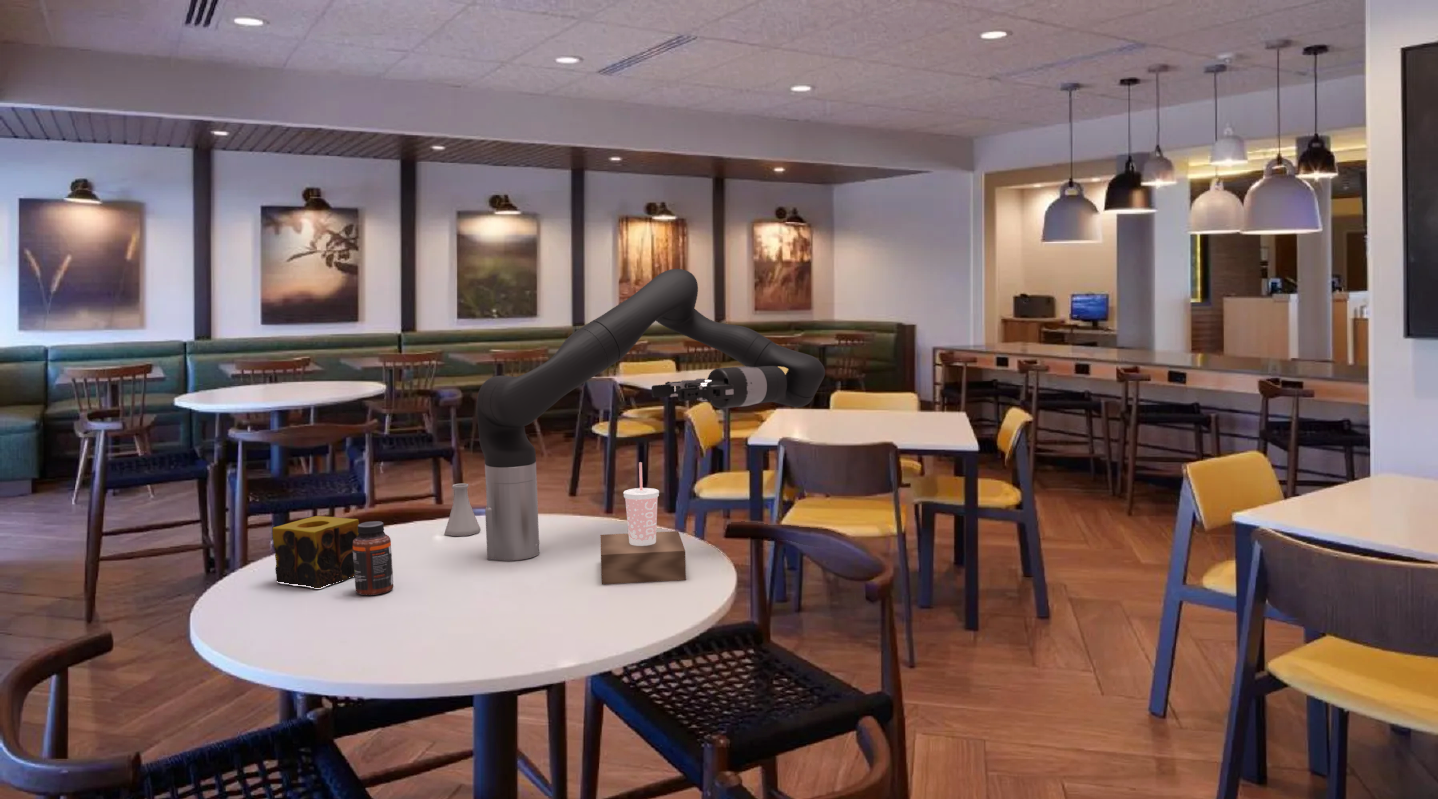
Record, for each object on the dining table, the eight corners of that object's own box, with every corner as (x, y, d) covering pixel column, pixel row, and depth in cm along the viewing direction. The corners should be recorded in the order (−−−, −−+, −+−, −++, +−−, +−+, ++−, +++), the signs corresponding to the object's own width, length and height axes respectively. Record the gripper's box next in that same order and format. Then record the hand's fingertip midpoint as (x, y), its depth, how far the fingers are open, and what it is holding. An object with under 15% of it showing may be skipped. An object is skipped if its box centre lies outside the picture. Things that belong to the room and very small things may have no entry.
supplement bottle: (401, 587, 164) (397, 520, 163) (378, 598, 159) (374, 528, 158) (371, 584, 166) (367, 518, 165) (347, 595, 161) (343, 526, 159)
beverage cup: (631, 548, 167) (629, 466, 166) (620, 540, 173) (617, 461, 171) (665, 544, 170) (663, 463, 168) (653, 536, 175) (651, 458, 174)
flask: (471, 537, 198) (469, 488, 197) (437, 536, 199) (435, 487, 198) (486, 529, 205) (484, 481, 204) (454, 528, 206) (451, 481, 205)
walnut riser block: (601, 584, 164) (600, 554, 163) (601, 562, 178) (600, 534, 177) (685, 579, 166) (685, 550, 165) (679, 558, 179) (678, 531, 179)
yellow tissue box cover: (364, 575, 172) (361, 519, 171) (318, 591, 163) (315, 531, 162) (321, 569, 177) (318, 514, 176) (274, 584, 168) (270, 526, 167)
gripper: (713, 365, 192) (643, 370, 182) (760, 368, 181) (688, 374, 171) (714, 403, 193) (644, 410, 183) (761, 409, 182) (689, 417, 172)
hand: (665, 393), depth 177 cm, fingers open, 8 cm apart
